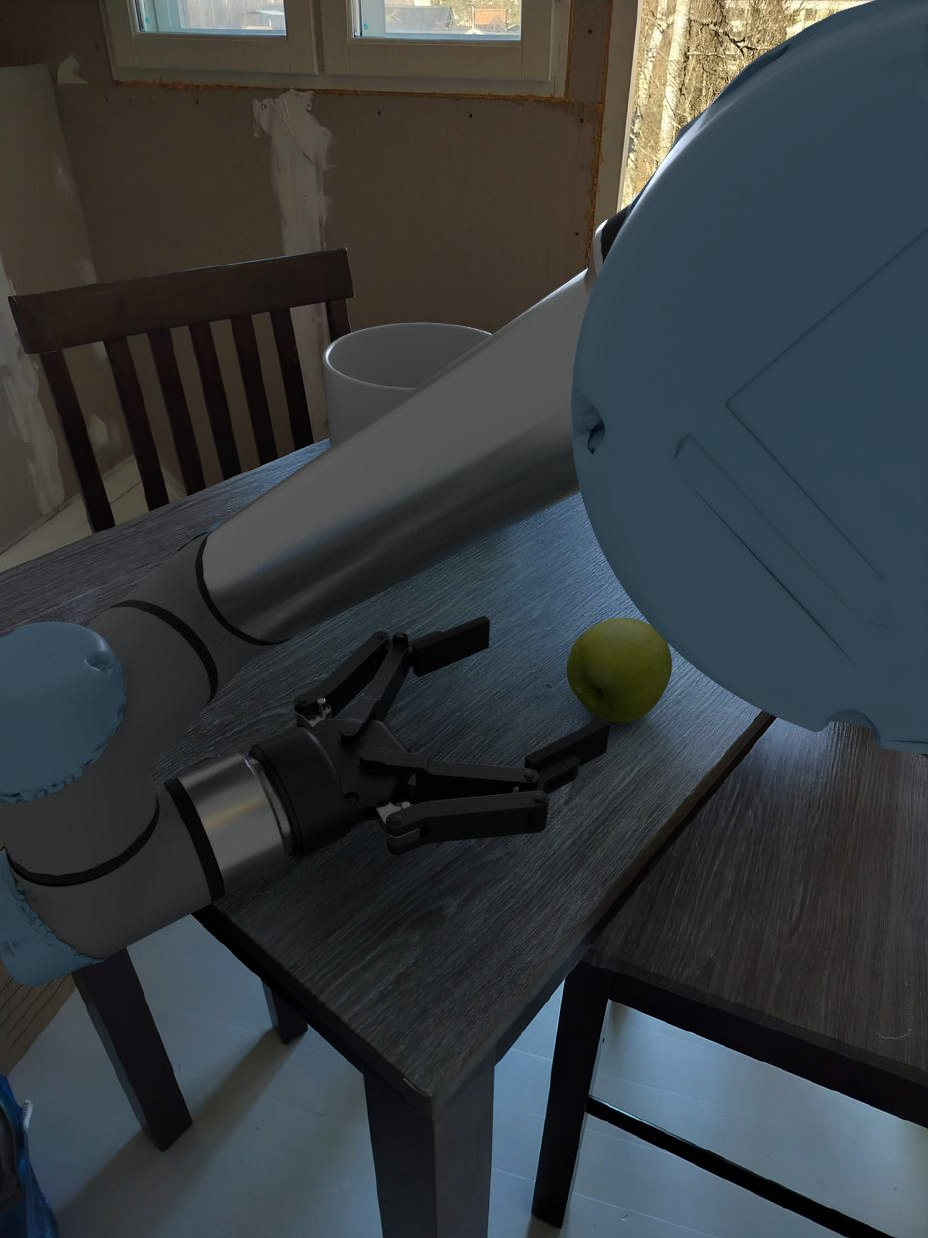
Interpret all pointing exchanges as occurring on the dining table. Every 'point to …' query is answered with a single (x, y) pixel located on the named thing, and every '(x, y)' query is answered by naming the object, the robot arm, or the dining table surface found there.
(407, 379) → the planter
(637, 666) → the apple
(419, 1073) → the dining table surface
